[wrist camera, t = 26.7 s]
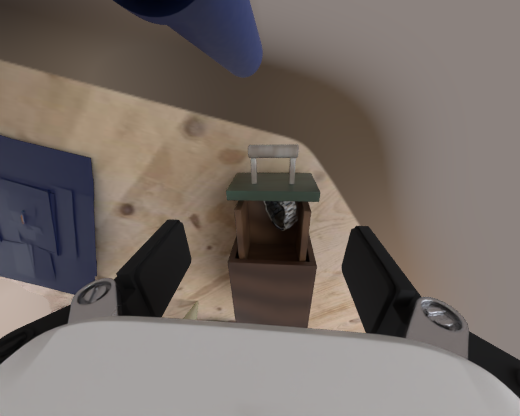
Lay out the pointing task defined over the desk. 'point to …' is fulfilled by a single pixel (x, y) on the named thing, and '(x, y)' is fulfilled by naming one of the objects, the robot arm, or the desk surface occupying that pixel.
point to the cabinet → (272, 289)
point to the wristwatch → (281, 213)
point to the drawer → (253, 208)
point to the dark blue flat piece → (46, 216)
